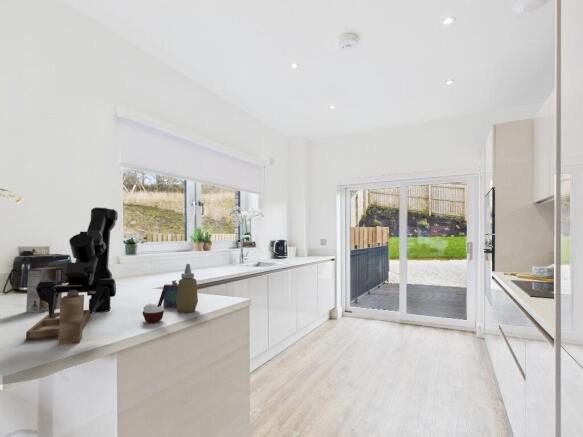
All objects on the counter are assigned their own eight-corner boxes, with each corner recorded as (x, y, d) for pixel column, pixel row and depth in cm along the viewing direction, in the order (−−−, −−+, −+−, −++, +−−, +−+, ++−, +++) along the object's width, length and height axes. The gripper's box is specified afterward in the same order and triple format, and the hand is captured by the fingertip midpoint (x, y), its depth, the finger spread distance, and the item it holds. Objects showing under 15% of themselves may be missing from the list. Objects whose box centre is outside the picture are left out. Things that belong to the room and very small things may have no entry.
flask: (161, 306, 127) (162, 280, 127) (166, 305, 129) (167, 279, 130) (180, 308, 124) (181, 281, 124) (185, 307, 126) (186, 280, 127)
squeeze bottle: (177, 314, 114) (178, 265, 115) (174, 310, 121) (175, 263, 122) (199, 312, 117) (200, 264, 119) (195, 308, 125) (196, 262, 126)
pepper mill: (82, 337, 87) (84, 287, 88) (79, 342, 83) (81, 290, 84) (62, 340, 85) (64, 289, 86) (58, 345, 81) (60, 291, 82)
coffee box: (48, 306, 126) (50, 266, 127) (61, 307, 125) (63, 267, 126) (25, 312, 117) (27, 269, 118) (39, 312, 116) (41, 269, 117)
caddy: (90, 316, 110) (91, 309, 111) (78, 335, 89) (79, 326, 90) (49, 320, 105) (49, 312, 105) (25, 341, 84) (26, 331, 84)
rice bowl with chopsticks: (139, 322, 105) (138, 286, 106) (157, 318, 110) (156, 283, 110) (151, 326, 98) (150, 288, 99) (170, 322, 103) (169, 285, 104)
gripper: (40, 252, 87) (19, 299, 76) (116, 251, 93) (107, 294, 82) (49, 277, 94) (31, 324, 83) (119, 275, 100) (111, 318, 89)
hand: (71, 314), depth 84 cm, fingers open, 9 cm apart
